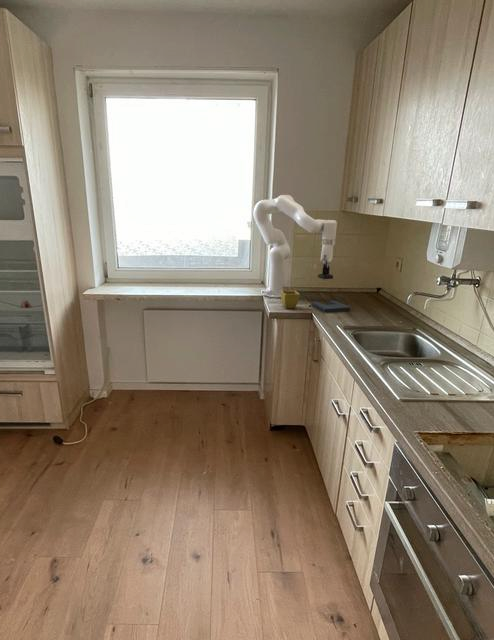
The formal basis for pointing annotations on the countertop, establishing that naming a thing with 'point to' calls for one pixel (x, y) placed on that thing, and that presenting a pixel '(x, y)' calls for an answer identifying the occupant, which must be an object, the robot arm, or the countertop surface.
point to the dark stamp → (325, 276)
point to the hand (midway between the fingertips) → (325, 273)
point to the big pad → (331, 306)
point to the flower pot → (289, 298)
